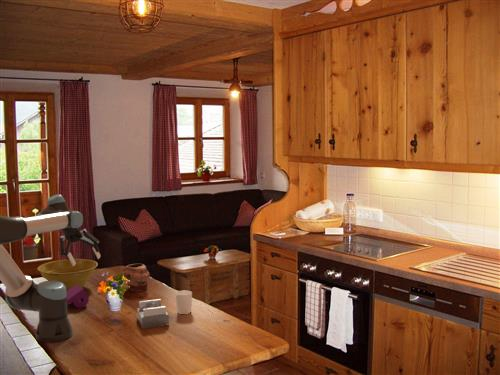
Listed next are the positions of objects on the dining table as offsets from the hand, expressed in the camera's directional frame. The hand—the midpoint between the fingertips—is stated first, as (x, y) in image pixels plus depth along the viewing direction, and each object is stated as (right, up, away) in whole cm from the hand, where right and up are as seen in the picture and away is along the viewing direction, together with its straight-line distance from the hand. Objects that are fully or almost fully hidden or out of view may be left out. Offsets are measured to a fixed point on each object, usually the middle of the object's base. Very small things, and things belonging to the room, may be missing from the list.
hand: (86, 261), depth 266 cm
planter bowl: (-21, -21, +37) cm, 48 cm away
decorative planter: (+17, -21, +35) cm, 44 cm away
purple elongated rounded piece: (-11, -25, +5) cm, 28 cm away
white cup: (+49, -25, -5) cm, 55 cm away
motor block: (+36, -26, -17) cm, 47 cm away
